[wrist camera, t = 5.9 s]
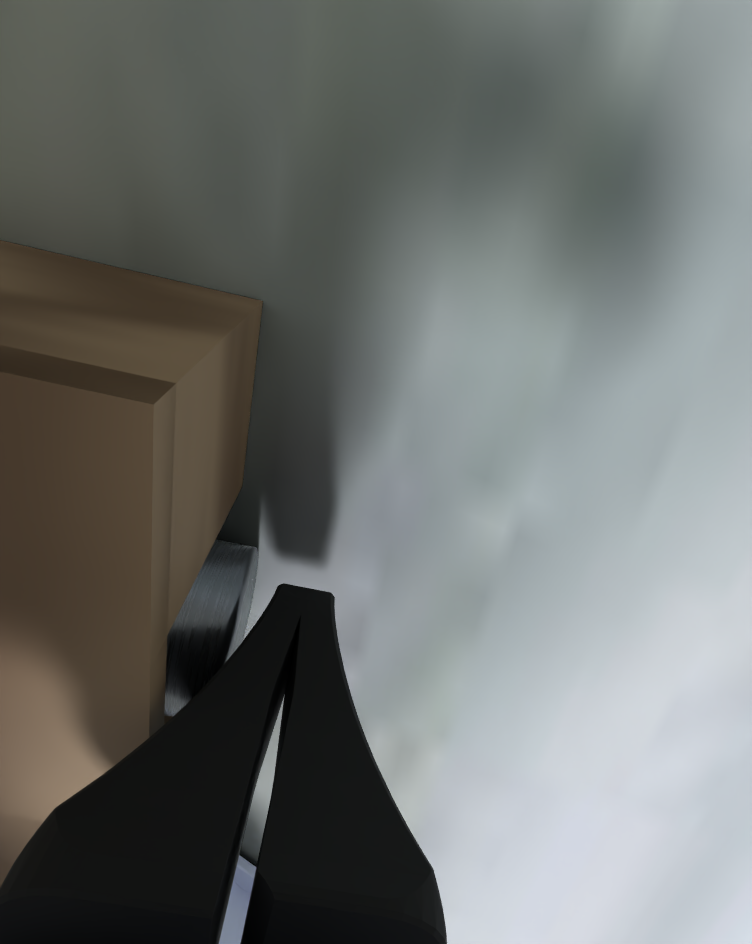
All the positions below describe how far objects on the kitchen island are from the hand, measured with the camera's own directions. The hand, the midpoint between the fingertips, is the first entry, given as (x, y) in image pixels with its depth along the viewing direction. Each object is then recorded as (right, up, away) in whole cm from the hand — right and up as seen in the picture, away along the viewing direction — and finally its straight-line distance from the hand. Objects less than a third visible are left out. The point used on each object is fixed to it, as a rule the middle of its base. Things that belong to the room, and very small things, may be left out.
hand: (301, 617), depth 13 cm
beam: (-5, +2, +1) cm, 5 cm away
